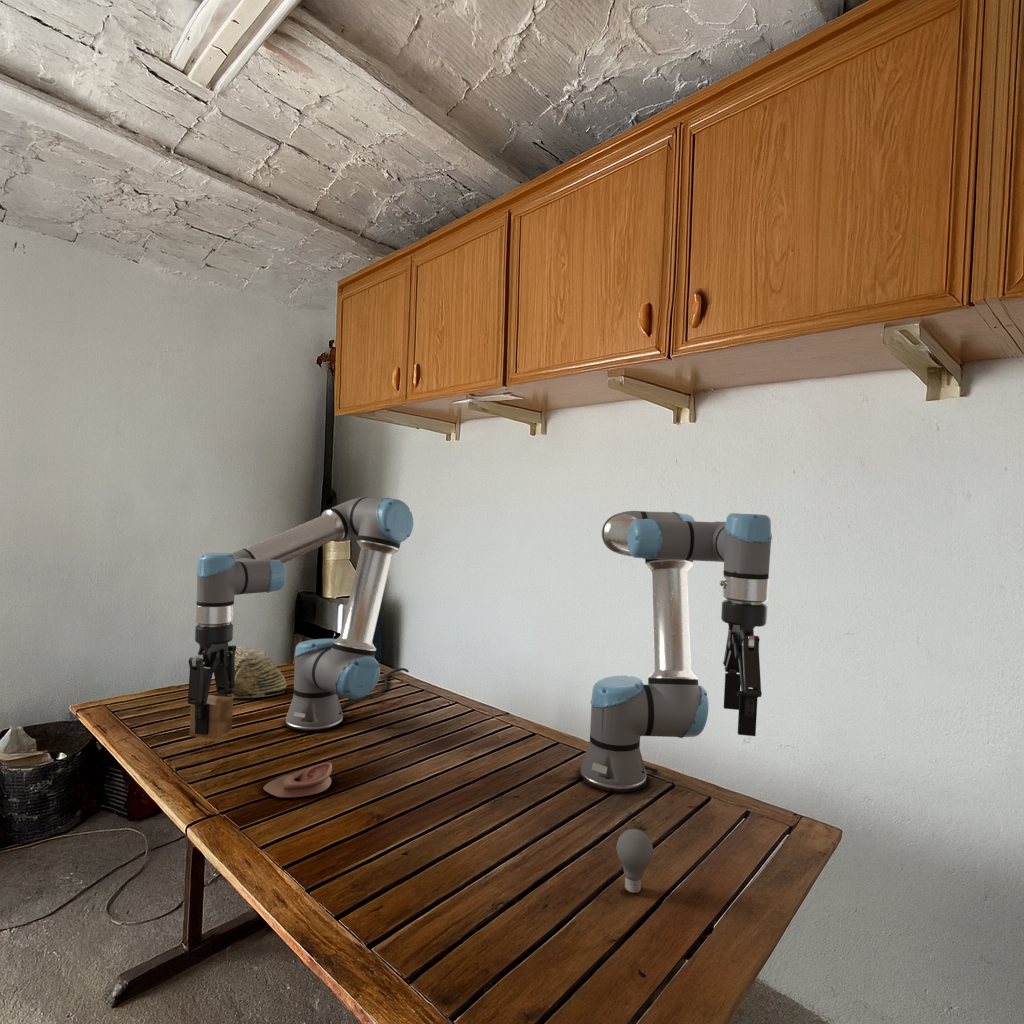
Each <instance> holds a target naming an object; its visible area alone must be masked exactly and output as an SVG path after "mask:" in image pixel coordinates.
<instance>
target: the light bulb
mask: <svg viewBox="0 0 1024 1024" xmlns="http://www.w3.org/2000/svg"><path fill="white" fill-rule="evenodd" d="M615 849H616V854H617V857H618V859H619V861H620V863H621V865H622V867H623V873H624V874H623V875H624V876H625V878H624V888H625V890H627V891H628V892H630V893H634V894H635V893H639V892H640V891H641V889H642V887H641V886H642V879H643V877H644V875H645V871H646V868H647V867H648V866H649V864H650V863H651V861H652V859H653V855H654V847H653V843H652V841H651V838H649V836H648V835H647V834H646V833H645V832H643V831H642V830H641V829H636V828H629V829H627V830H625V831H623V832H622V833H621V834H620V835H619V837H618V839H617V841H616V847H615Z"/></svg>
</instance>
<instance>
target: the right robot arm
mask: <svg viewBox="0 0 1024 1024" xmlns="http://www.w3.org/2000/svg"><path fill="white" fill-rule="evenodd" d="M601 539H602V542H603V544H604V545H605V547H606V548H607V549H609V550H610V551H611V552H613V553H616V554H618V555H622V556H627V557H632V558H634V559H643V560H644V563H645V564H644V565H645V567H646V568H647V569H648V570H649V571H650V572H651V588H652V589H651V591H652V592H651V594H652V597H651V598H652V629H653V630H652V632H653V664H654V665H653V668H654V669H653V671H652V672H651V673H650V674H649V675H648V677H647V680H648V681H647V684H644V683H643V680H642V679H641V678H639V677H637V676H633V675H631V676H628V675H611V676H607V677H603V678H601V679H599V680H598V681H596V682H595V683H594V684H593V686H592V692H591V699H590V707H591V709H590V729H589V744H588V746H587V749H586V751H585V755H584V756H583V757H584V758H583V761H582V762H581V766H580V773H579V774H580V778H581V780H582V781H583V782H584V783H586V784H587V785H589V786H591V787H592V788H595V789H597V790H601V791H606V792H610V793H611V792H612V793H631V792H636V791H639V790H640V789H641V790H642V789H643V788H644V787H645V786H646V784H647V771H649V772H653V773H658V769H657V768H654V767H650V766H648V765H645V763H644V759H643V756H642V753H641V748H640V745H641V737H661V738H662V737H663V738H665V737H666V738H679V739H683V738H694V737H698V736H700V735H701V733H703V731H704V729H705V727H706V725H707V721H708V718H709V702H710V701H709V696H708V692H707V689H706V688H705V687H704V686H702V685H700V684H699V677H698V676H696V675H695V674H694V673H693V671H692V661H691V660H692V659H691V657H692V656H691V637H690V635H691V633H690V613H689V612H690V611H689V589H688V588H689V587H688V571H689V570H690V569H691V568H692V567H693V565H694V562H696V561H697V562H716V563H717V562H718V563H719V562H720V563H723V571H722V572H723V580H720V582H719V586H720V587H722V597H723V598H724V600H723V601H721V615H720V619H721V621H722V622H723V623H725V624H728V629H727V630H728V631H727V638H726V644H725V651H724V657H723V661H722V664H723V666H724V671H725V674H724V689H723V690H724V693H723V709H724V710H735V711H738V715H737V717H738V718H737V735H739V736H747V737H757V736H756V735H757V718H758V717H757V715H758V699H759V698H762V693H763V692H762V682H761V665H760V641H761V640H760V637H759V635H755V631H754V629H755V628H756V627H759V628H761V627H764V626H766V625H767V621H768V605H767V604H766V602H767V601H769V591H770V578H769V577H770V564H771V563H770V562H771V561H770V560H771V548H772V539H773V535H772V519H771V518H770V516H769V515H767V514H760V513H759V514H757V513H739V512H738V513H737V512H736V513H735V512H732V513H731V512H730V513H729V514H727V516H726V520H725V521H696V520H695V519H694V517H693V516H692V515H691V514H689V513H683V512H676V511H671V512H670V511H644V510H643V511H641V510H627V511H626V510H625V511H621V512H619V513H615V514H613V515H611V516H610V517H609V518H607V519H606V521H605V522H604V524H603V525H602V529H601Z"/></svg>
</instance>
